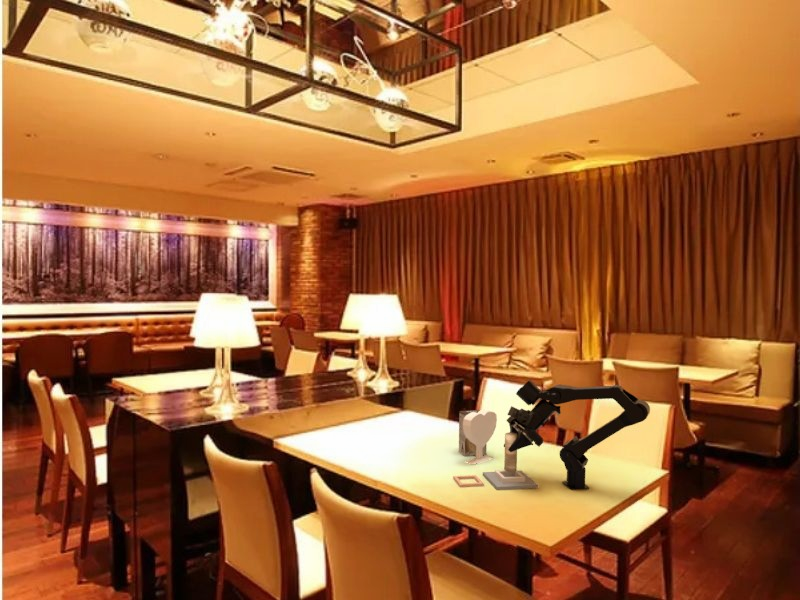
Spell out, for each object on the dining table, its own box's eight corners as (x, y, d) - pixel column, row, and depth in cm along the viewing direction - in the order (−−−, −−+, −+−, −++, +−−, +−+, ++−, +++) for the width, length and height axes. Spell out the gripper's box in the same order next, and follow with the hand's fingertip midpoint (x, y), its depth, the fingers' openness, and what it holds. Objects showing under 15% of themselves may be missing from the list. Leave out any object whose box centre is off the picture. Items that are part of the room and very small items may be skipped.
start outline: (483, 485, 186) (483, 483, 186) (460, 487, 185) (460, 484, 185) (476, 477, 194) (476, 475, 194) (453, 478, 192) (453, 476, 192)
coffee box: (479, 450, 225) (480, 409, 225) (486, 455, 219) (487, 413, 218) (457, 451, 223) (459, 410, 222) (464, 456, 217) (465, 414, 216)
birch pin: (518, 471, 189) (519, 435, 189) (506, 472, 188) (507, 436, 188) (513, 467, 193) (514, 432, 193) (502, 468, 192) (503, 432, 192)
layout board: (538, 488, 185) (538, 480, 185) (497, 490, 183) (497, 482, 183) (521, 473, 199) (521, 466, 199) (482, 475, 196) (482, 467, 196)
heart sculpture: (486, 454, 220) (488, 407, 219) (497, 457, 216) (498, 410, 216) (460, 462, 209) (461, 413, 209) (471, 466, 206) (472, 416, 205)
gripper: (512, 393, 200) (481, 425, 198) (534, 404, 181) (500, 440, 180) (533, 414, 201) (502, 447, 200) (557, 428, 183) (524, 464, 181)
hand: (506, 449), depth 190 cm, fingers closed on birch pin, 4 cm apart
